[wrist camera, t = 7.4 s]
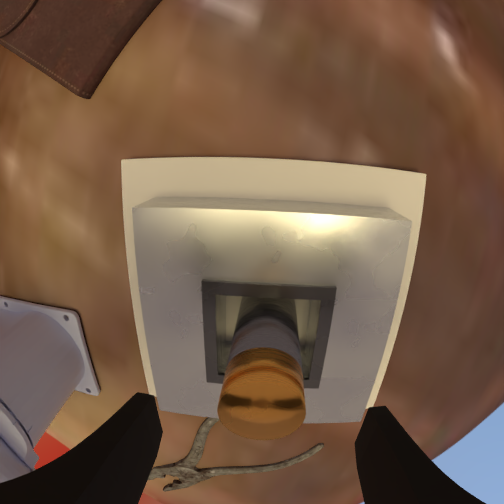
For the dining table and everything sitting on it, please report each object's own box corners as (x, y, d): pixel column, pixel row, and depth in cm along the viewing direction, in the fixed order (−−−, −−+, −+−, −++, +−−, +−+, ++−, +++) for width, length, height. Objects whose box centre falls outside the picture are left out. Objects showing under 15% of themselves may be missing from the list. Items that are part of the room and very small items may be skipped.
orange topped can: (242, 329, 18) (222, 438, 10) (238, 281, 17) (212, 382, 9) (295, 328, 18) (303, 439, 10) (295, 280, 17) (308, 382, 9)
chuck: (172, 379, 20) (158, 412, 17) (156, 196, 16) (130, 208, 13) (352, 389, 19) (361, 423, 16) (389, 208, 15) (413, 222, 12)
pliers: (339, 438, 21) (215, 511, 27) (338, 430, 22) (216, 505, 28) (237, 391, 20) (140, 480, 26) (239, 383, 21) (142, 474, 27)
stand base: (153, 386, 21) (149, 395, 20) (129, 159, 16) (121, 159, 15) (369, 398, 20) (372, 407, 19) (418, 172, 15) (426, 174, 14)
